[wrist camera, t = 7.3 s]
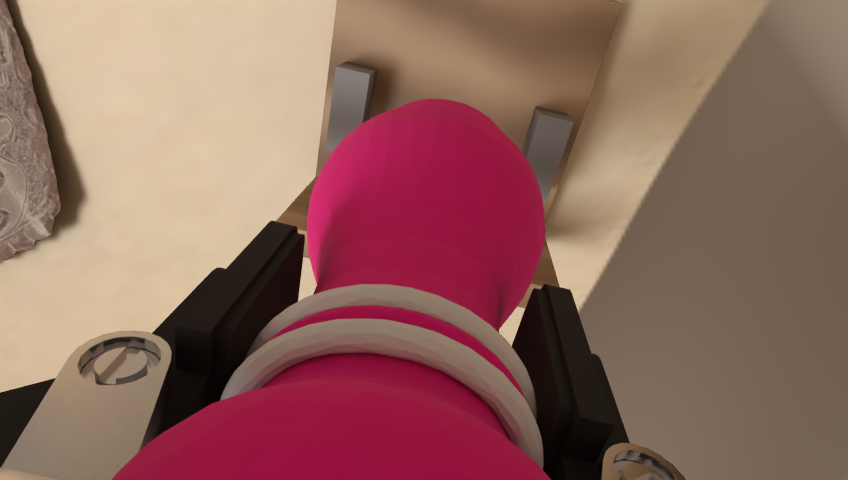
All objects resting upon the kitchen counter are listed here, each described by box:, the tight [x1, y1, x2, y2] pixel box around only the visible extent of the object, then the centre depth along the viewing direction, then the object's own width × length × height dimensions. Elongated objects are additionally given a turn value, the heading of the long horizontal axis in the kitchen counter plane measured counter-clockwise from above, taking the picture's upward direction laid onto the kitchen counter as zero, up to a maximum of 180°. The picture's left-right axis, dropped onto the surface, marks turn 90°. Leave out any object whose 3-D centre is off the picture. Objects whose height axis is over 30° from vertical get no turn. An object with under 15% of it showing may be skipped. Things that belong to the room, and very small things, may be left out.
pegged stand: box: [276, 0, 622, 308], centre depth 29 cm, size 16×16×10 cm
